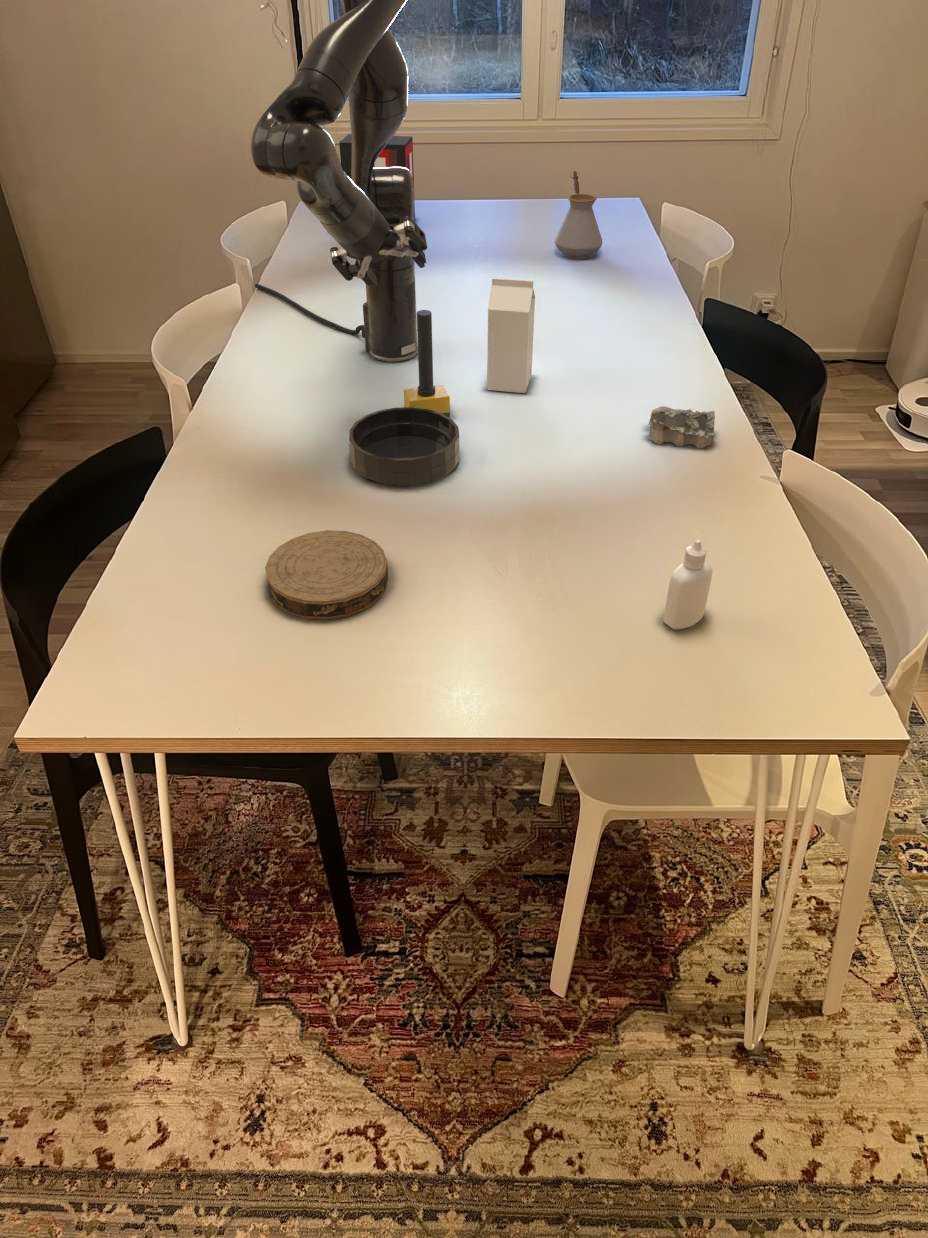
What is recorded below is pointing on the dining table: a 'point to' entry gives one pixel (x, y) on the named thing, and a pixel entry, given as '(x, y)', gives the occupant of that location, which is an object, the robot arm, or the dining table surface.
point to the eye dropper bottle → (688, 589)
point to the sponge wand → (426, 372)
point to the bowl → (404, 446)
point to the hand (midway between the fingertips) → (398, 272)
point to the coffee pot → (579, 227)
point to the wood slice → (327, 574)
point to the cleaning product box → (383, 155)
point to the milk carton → (510, 335)
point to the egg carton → (681, 426)
